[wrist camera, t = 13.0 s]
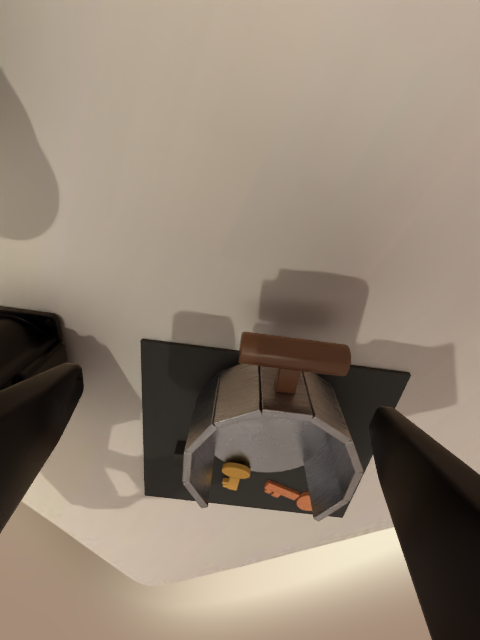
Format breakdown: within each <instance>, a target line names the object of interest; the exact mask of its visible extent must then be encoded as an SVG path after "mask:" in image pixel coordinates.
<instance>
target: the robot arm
mask: <svg viewBox="0 0 480 640" xmlns="http://www.w3.org/2000/svg"><path fill="white" fill-rule="evenodd" d="M49 319H50V320H51V321H52V322H53V323H52V322H50V321H49ZM83 389H84V384H83V375H82V368H81V366H80V365H79V364H74V363H67V357H66V351H65V345H64V343H63V339H62V333H61V327H60V321H59V318H58V317H57V316H56V315H55V314H52V313H44V312H36V311H29V310H21V309H13V308H5V307H0V533H1V531H2V530H3V528H4V526H5V525H6V523H7V522H8V520H9V519H10V517H11V515H12V514H13V512H14V511H15V509H16V508H17V506H18V505H19V503H20V501H21V500H22V498H23V497H24V495H25V494H26V492H27V490H28V489H29V487H30V486H31V484H32V483H33V481H34V479H35V478H36V476H37V475H38V473H39V472H40V470H41V468H42V467H43V465H44V464H45V462H46V461H47V459H48V457H49V456H50V454H51V453H52V451H53V450H54V448H55V446H56V445H57V443H58V441H59V439H60V438H61V436H62V434H63V432H64V430H65V428H66V426H67V424H68V422H69V420H70V418H71V416H72V414H73V412H74V410H75V408H76V406H77V404H78V402H79V399H80V397H81V395H82V393H83ZM368 433H369V437H370V442H371V446H372V451H373V455H374V460H375V464H376V469H377V473H378V477H379V481H380V485H381V488H382V491H383V494H384V497H385V500H386V503H387V506H388V509H389V512H390V515H391V518H392V521H393V524H394V527H395V530H396V533H397V536H398V539H399V542H400V545H401V548H402V551H403V554H404V557H405V560H406V563H407V566H408V569H409V572H410V575H411V578H412V581H413V584H414V587H415V590H416V593H417V596H418V599H419V602H420V605H421V608H422V611H423V614H424V617H425V620H426V623H427V626H428V629H429V633H430V635H431V638H432V640H480V475H479V474H478V473H477V472H476V471H474V470H473V469H472V468H470V467H469V466H468V465H467V464H465V463H464V462H463V461H461V460H460V459H459V458H457V457H456V456H455V455H454V454H452V453H451V452H450V451H448V450H447V449H446V448H445V447H443V446H442V445H441V444H439V443H438V442H437V441H435V440H434V439H433V438H432V437H430V436H429V435H428V434H426V433H425V432H424V431H423V430H421V429H420V428H419V427H417V426H416V425H415V424H414V423H412V422H411V421H410V420H408V419H407V418H406V417H405V416H403V415H402V414H401V413H399V412H398V411H397V410H395V409H394V408H392V407H385V406H379V407H378V408H377V409H376V411H375V413H374V415H373V417H372V420H371V422H370V424H369V427H368Z"/></svg>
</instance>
